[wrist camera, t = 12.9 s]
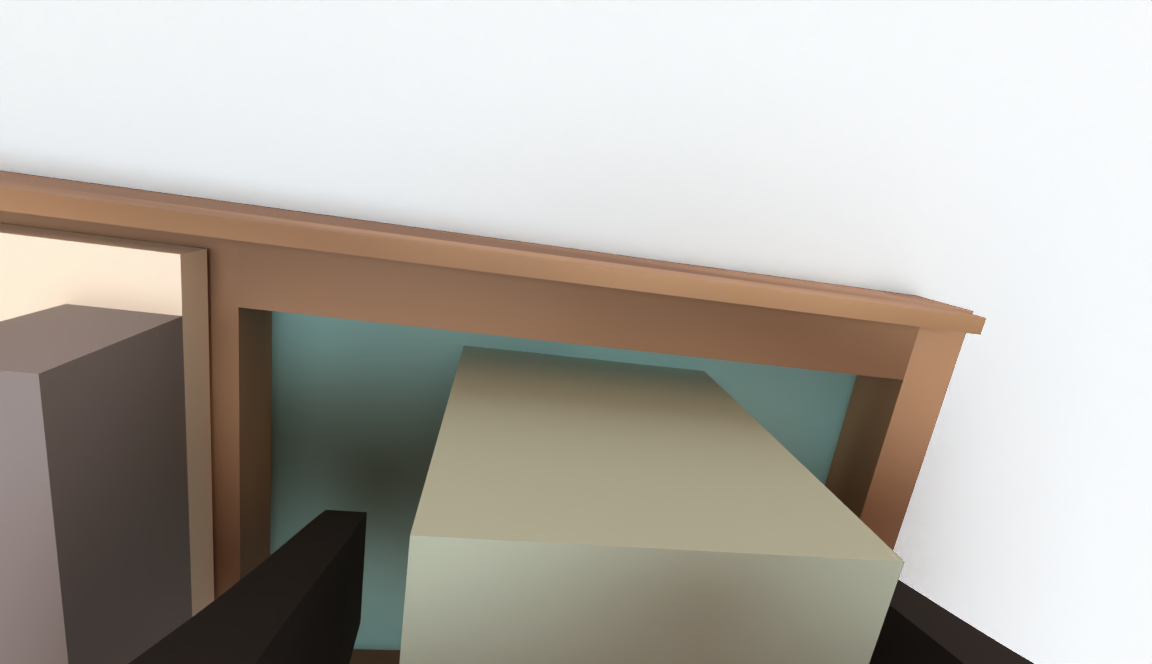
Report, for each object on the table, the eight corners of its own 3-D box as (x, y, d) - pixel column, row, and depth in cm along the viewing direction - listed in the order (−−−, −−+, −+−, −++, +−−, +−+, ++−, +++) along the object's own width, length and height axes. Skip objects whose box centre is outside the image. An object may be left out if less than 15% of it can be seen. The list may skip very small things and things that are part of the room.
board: (792, 697, 14) (844, 790, 12) (-512, 686, 10) (-791, 824, 8) (916, 295, 12) (1010, 321, 10) (-782, 64, 8) (-1309, 15, 5)
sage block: (660, 572, 13) (787, 899, 7) (441, 562, 12) (377, 921, 6) (704, 370, 11) (904, 561, 6) (464, 345, 11) (410, 535, 5)
